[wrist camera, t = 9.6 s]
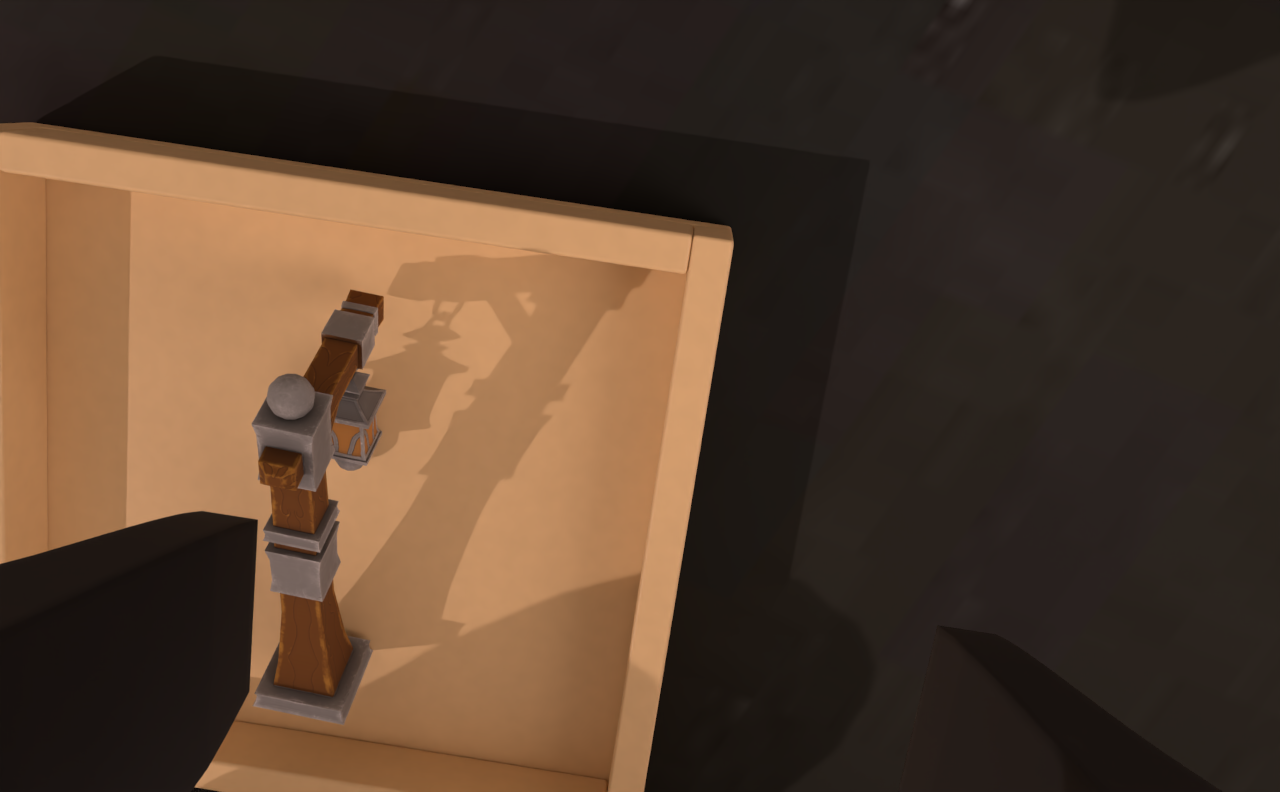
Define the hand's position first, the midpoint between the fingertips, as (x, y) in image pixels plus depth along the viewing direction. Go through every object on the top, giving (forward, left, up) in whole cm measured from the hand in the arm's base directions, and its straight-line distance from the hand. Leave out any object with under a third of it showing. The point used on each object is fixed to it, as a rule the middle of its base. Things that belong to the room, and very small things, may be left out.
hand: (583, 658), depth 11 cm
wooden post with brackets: (+6, +3, -10) cm, 12 cm away
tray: (+6, +3, -10) cm, 12 cm away
